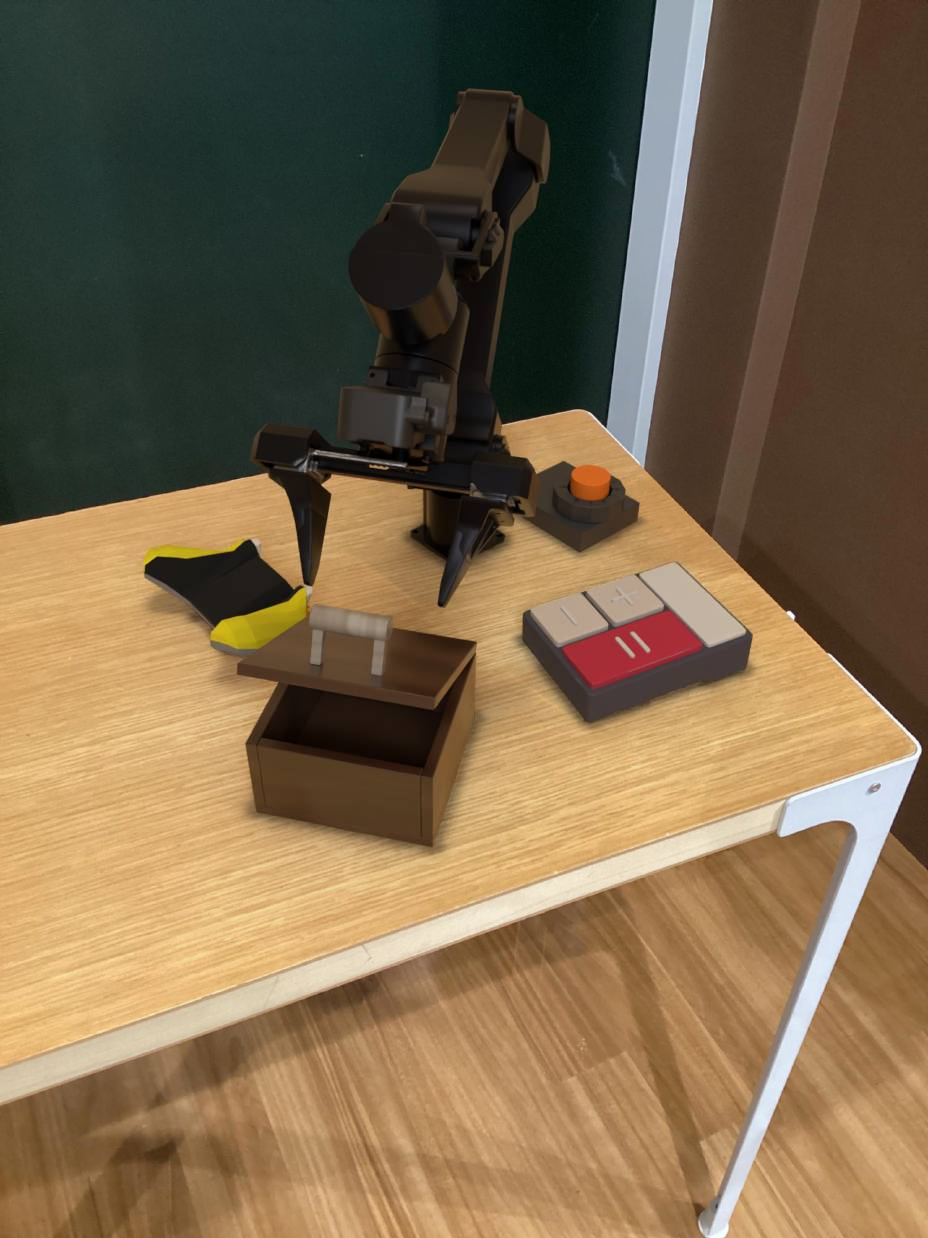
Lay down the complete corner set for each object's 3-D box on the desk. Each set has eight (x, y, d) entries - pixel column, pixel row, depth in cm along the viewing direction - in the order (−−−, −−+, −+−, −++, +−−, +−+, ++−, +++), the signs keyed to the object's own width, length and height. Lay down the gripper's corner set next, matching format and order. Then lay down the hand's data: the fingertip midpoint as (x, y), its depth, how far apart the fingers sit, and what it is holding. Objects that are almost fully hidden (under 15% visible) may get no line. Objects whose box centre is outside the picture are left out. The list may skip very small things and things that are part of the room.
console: (504, 507, 104) (506, 471, 101) (562, 479, 108) (565, 444, 105) (581, 554, 98) (585, 518, 95) (639, 522, 102) (644, 487, 99)
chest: (432, 847, 72) (432, 779, 67) (255, 812, 74) (244, 743, 69) (474, 719, 81) (476, 651, 77) (316, 690, 83) (310, 623, 79)
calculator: (520, 604, 86) (677, 552, 91) (520, 644, 89) (672, 591, 93) (590, 689, 78) (757, 628, 83) (587, 730, 81) (749, 668, 86)
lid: (433, 710, 64) (442, 636, 63) (236, 675, 66) (240, 603, 65) (476, 652, 77) (483, 589, 75) (309, 624, 79) (314, 563, 77)
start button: (561, 489, 99) (563, 473, 98) (588, 476, 101) (590, 460, 100) (590, 506, 97) (592, 489, 96) (616, 492, 99) (618, 475, 98)
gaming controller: (230, 695, 83) (337, 642, 88) (221, 641, 79) (333, 589, 84) (141, 600, 91) (243, 557, 96) (129, 548, 88) (236, 506, 93)
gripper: (244, 306, 66) (194, 553, 64) (543, 341, 63) (497, 602, 61) (299, 369, 77) (257, 581, 75) (555, 401, 74) (516, 623, 72)
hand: (374, 596), depth 71 cm, fingers open, 9 cm apart
